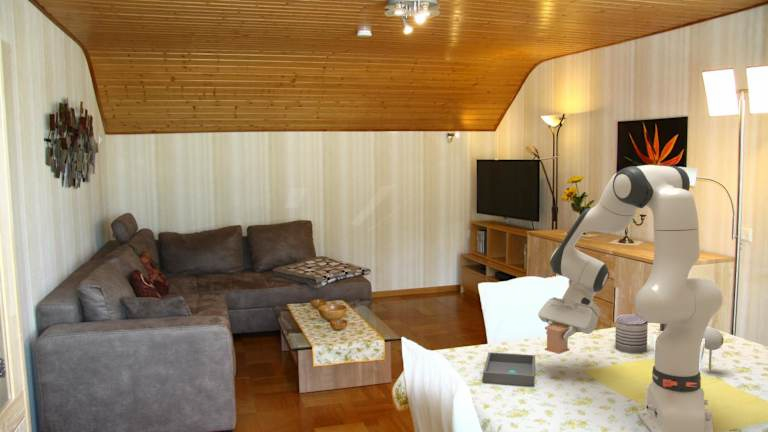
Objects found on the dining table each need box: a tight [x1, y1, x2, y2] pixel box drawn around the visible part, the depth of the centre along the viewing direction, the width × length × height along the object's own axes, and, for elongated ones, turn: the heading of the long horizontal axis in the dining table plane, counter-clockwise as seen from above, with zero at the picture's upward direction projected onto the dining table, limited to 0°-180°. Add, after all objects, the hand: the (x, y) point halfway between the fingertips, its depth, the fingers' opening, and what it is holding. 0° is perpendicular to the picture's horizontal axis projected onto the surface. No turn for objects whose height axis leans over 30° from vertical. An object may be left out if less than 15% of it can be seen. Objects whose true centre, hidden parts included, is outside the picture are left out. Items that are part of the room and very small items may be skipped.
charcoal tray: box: [482, 351, 536, 387], centre depth 211 cm, size 20×16×4 cm
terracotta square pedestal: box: [544, 324, 571, 355], centre depth 206 cm, size 6×6×8 cm
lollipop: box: [703, 327, 724, 374], centre depth 208 cm, size 7×7×15 cm
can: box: [614, 313, 649, 355], centre depth 233 cm, size 11×11×12 cm
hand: (555, 336), depth 206 cm, fingers closed on terracotta square pedestal, 5 cm apart
